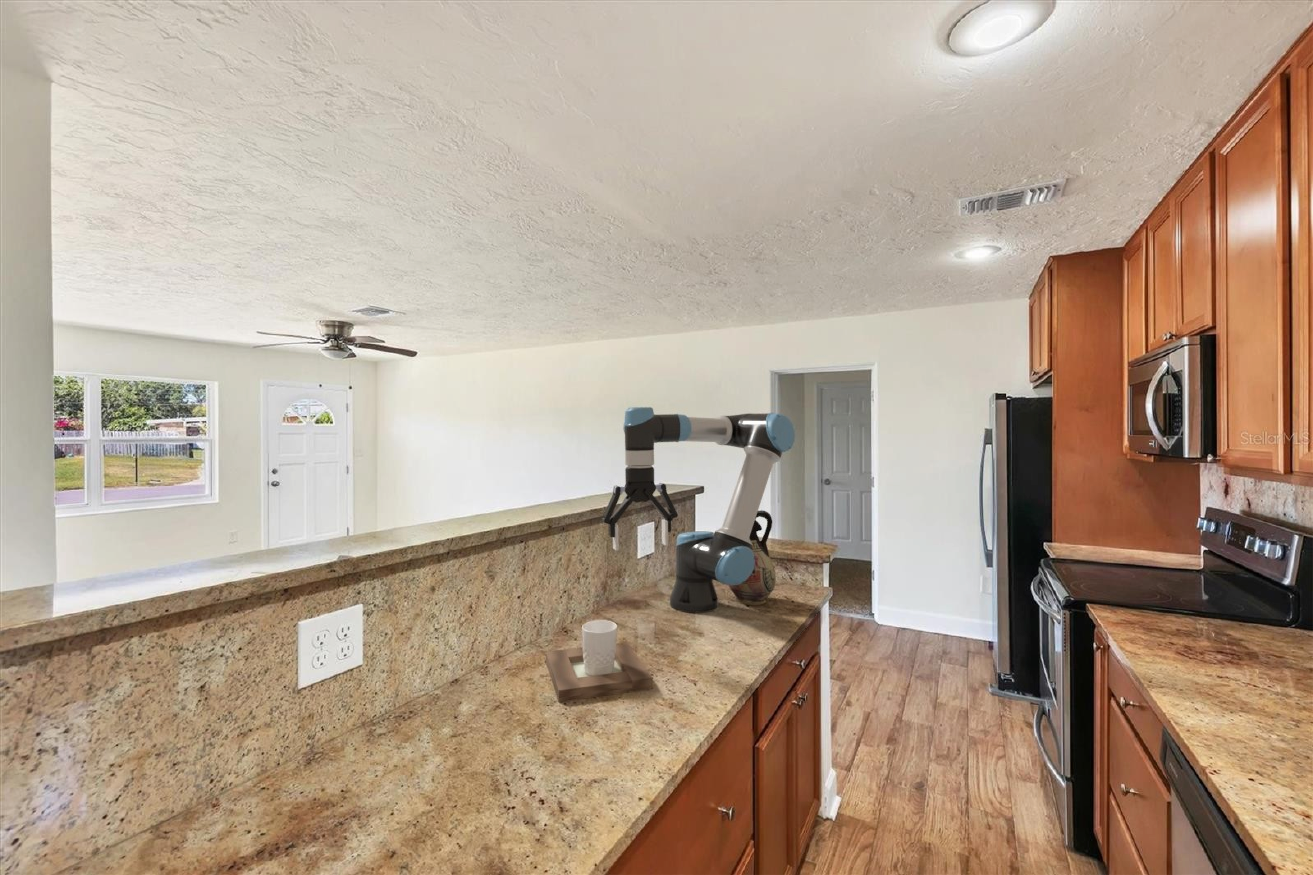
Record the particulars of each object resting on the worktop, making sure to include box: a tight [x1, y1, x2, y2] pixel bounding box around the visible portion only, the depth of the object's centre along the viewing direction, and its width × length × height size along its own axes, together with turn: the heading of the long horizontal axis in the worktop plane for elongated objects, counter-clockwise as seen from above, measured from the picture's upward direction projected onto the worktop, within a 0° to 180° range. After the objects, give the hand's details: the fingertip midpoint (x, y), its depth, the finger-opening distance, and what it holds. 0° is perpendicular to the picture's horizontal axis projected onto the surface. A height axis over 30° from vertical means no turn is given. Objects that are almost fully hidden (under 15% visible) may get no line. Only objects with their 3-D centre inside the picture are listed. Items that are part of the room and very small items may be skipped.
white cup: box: [581, 619, 618, 676], centre depth 124 cm, size 8×8×10 cm
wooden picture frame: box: [545, 642, 654, 703], centre depth 124 cm, size 20×20×2 cm
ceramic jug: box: [728, 509, 777, 606], centre depth 178 cm, size 17×15×30 cm
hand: (640, 547), depth 145 cm, fingers open, 13 cm apart
